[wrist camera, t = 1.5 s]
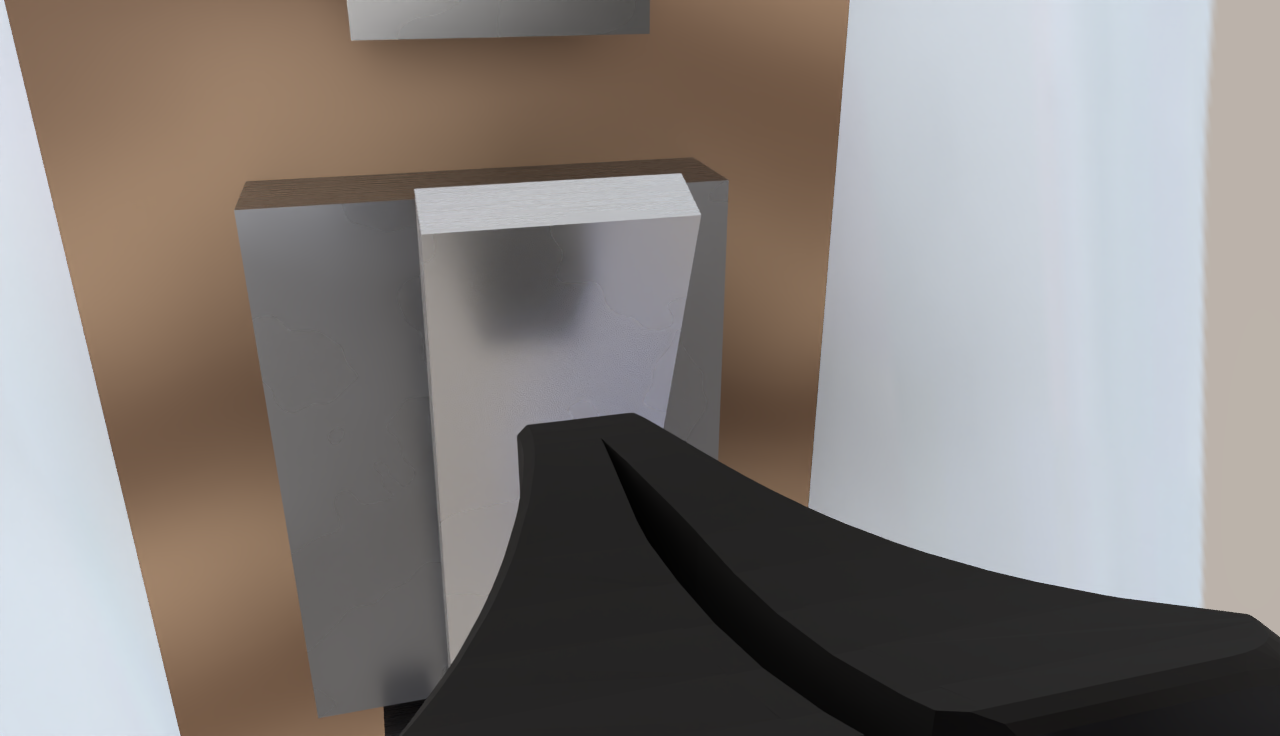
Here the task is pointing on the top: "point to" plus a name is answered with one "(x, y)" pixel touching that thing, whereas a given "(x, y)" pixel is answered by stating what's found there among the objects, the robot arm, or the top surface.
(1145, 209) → the top surface
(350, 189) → the clamp block
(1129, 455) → the top surface
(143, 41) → the board
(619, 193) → the grey flat bar
